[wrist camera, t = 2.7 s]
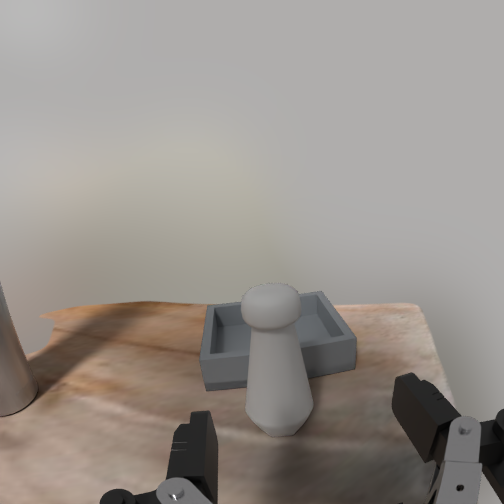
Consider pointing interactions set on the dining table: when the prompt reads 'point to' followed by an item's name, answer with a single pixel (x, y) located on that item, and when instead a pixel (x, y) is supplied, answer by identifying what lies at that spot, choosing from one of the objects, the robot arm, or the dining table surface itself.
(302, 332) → the tray
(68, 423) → the dining table surface
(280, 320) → the salt shaker
